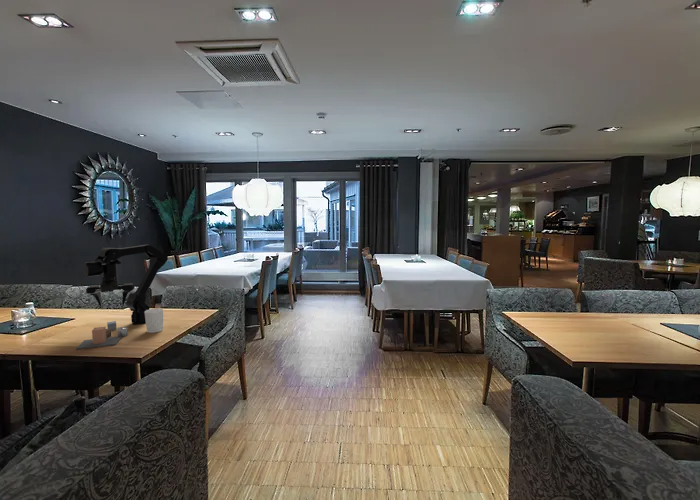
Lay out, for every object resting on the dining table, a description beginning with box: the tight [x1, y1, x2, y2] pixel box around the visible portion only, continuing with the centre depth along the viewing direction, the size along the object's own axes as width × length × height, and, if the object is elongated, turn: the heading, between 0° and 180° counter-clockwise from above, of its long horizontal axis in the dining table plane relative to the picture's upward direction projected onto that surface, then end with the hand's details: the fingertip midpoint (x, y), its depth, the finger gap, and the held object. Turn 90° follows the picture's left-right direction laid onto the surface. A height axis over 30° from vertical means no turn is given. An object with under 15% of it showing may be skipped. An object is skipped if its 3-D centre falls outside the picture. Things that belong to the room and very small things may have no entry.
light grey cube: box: [117, 326, 128, 338], centre depth 162 cm, size 4×4×4 cm
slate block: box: [106, 320, 118, 331], centre depth 171 cm, size 4×4×4 cm
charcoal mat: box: [76, 335, 122, 351], centre depth 153 cm, size 14×10×1 cm
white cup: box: [145, 308, 164, 334], centre depth 169 cm, size 8×8×10 cm
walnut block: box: [106, 328, 112, 338], centre depth 160 cm, size 4×4×4 cm
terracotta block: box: [91, 326, 107, 344], centre depth 152 cm, size 4×4×6 cm
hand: (112, 305), depth 169 cm, fingers open, 9 cm apart
